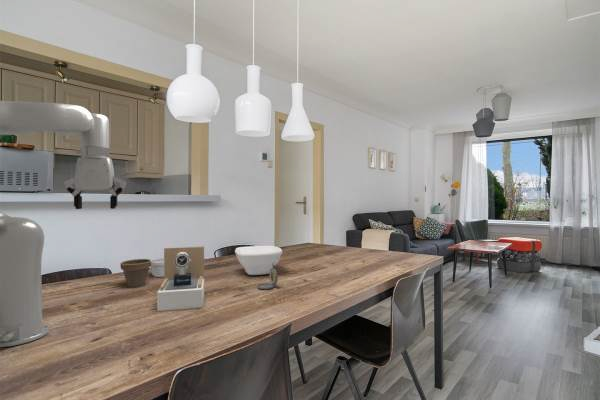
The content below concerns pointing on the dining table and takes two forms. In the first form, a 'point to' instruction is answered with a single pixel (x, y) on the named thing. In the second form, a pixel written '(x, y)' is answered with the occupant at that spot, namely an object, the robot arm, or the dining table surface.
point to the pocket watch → (273, 280)
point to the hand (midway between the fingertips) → (96, 208)
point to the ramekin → (157, 267)
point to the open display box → (183, 294)
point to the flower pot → (136, 271)
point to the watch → (182, 269)
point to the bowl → (258, 258)
